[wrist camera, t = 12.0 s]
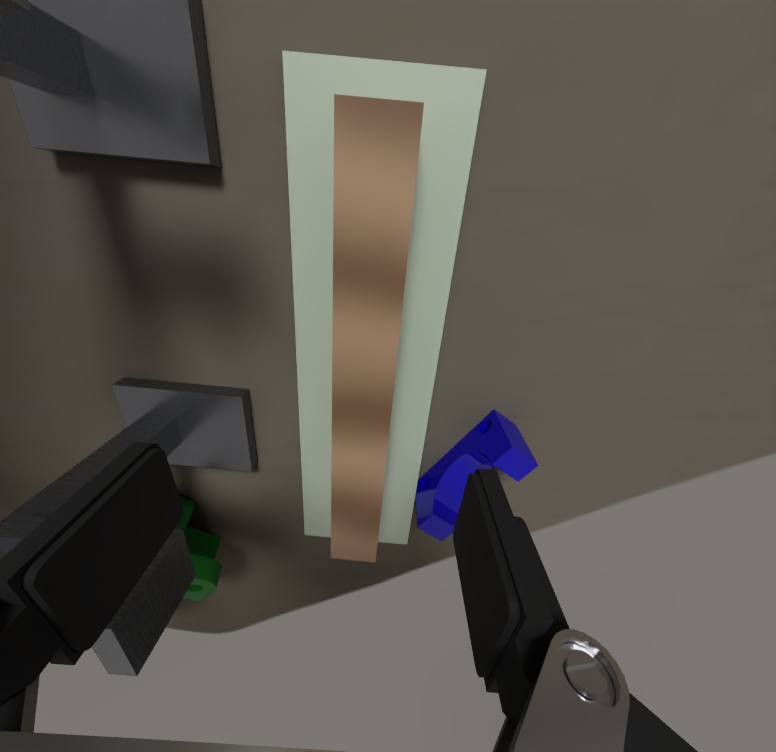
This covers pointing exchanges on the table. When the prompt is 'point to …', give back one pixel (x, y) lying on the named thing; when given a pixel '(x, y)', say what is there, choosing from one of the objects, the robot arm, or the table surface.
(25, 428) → the table surface
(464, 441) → the cable holder
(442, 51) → the table surface
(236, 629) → the table surface
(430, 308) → the board
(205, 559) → the clamp
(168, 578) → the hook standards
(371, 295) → the rail
